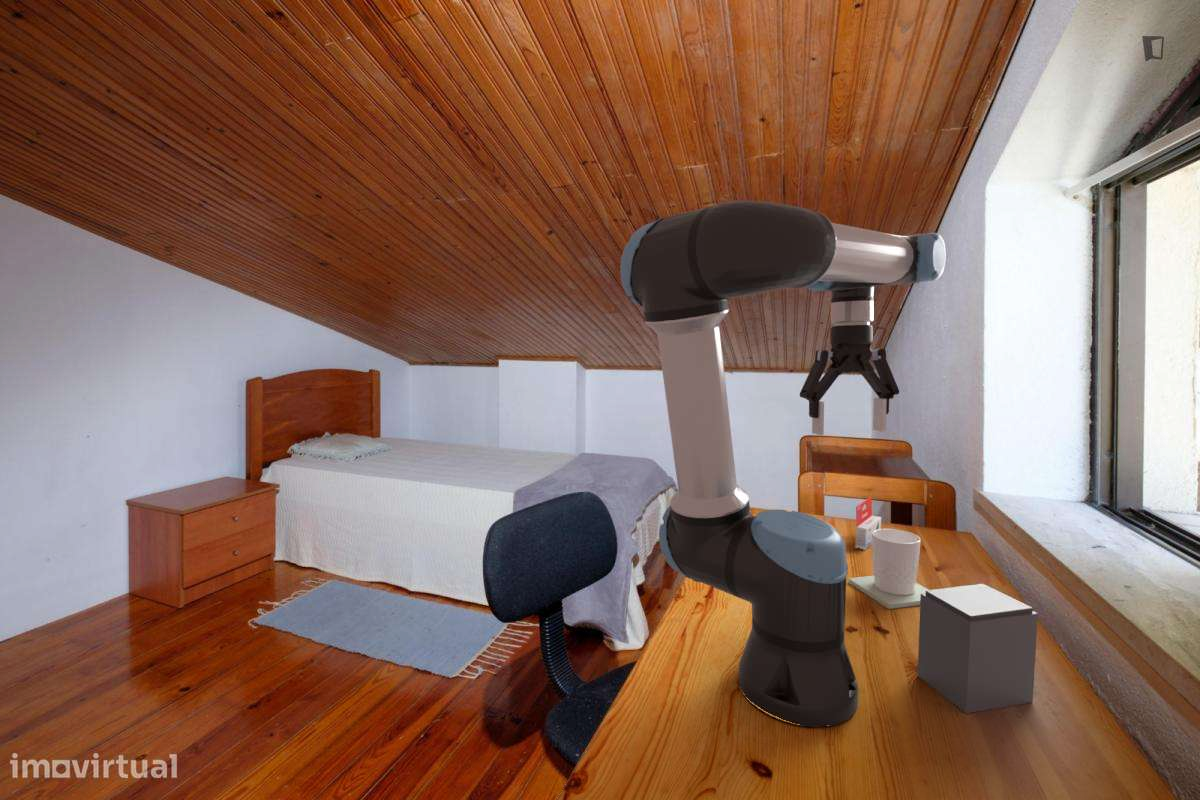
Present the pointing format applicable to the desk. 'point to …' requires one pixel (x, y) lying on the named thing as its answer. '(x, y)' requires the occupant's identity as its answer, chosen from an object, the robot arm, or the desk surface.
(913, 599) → the coaster
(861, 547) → the ink cartridge box
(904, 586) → the white cup
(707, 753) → the desk surface
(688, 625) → the desk surface
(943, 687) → the block
